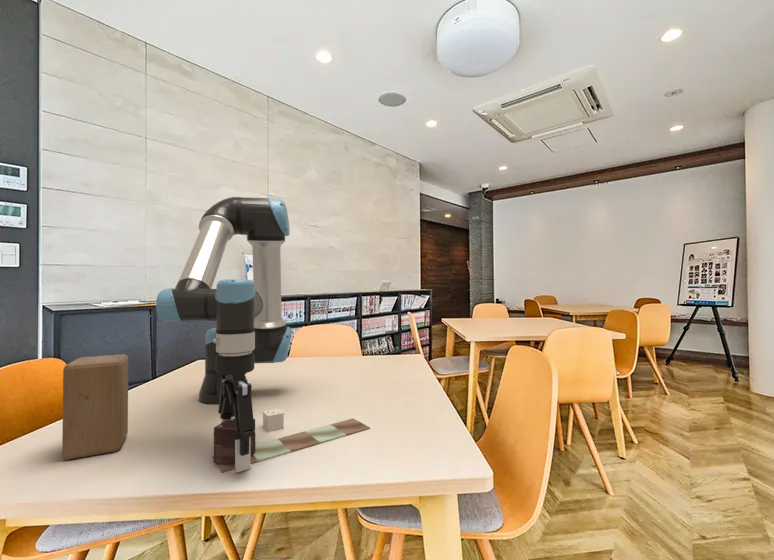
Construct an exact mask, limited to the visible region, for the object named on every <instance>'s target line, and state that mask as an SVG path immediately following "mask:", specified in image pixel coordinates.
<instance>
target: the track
mask: <svg viewBox="0 0 774 560" xmlns="http://www.w3.org/2000/svg"><path fill="white" fill-rule="evenodd" d="M370 429H371V427H370V426H368V425H366V424H365V423H364V422H363V423H362V422H361V421H359V420H357V419H356V418H354V417H353V418H349V419H346V420H342V421H341V420H340V421H337V422H335V423H331V424H327V425H324V426H319V427H315V428H312V429H308V430H304V431H300V432H297V433H293V434H290V435H286V436H281V437H279V438H274V439H271V440H267V441H263V442H260V443H255V449H256V452H255V453H254V454H253V455H252V456H251V461H250V465H252V464H256V463H260V462H263V461H267V460H270V459H273V458H276V457H280V456H282V455H286V454H287V455H288V454H289V453H294V452H296V451H300V450H303V449H307V448H310V447H313V446H317V445H320V444H324V443H327V442H330V441H333V440H337V439H340V438H343V437H346V436H350V435H354V434H356V433H360V432H364V431H366V430H370ZM212 459H213V460H214V455H212ZM215 464H216V465H217V468H218V470H219V471H220V473H221V474H223V473H227V472H230V471H232V470H235V465H229V464H218V463H215Z"/></svg>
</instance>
